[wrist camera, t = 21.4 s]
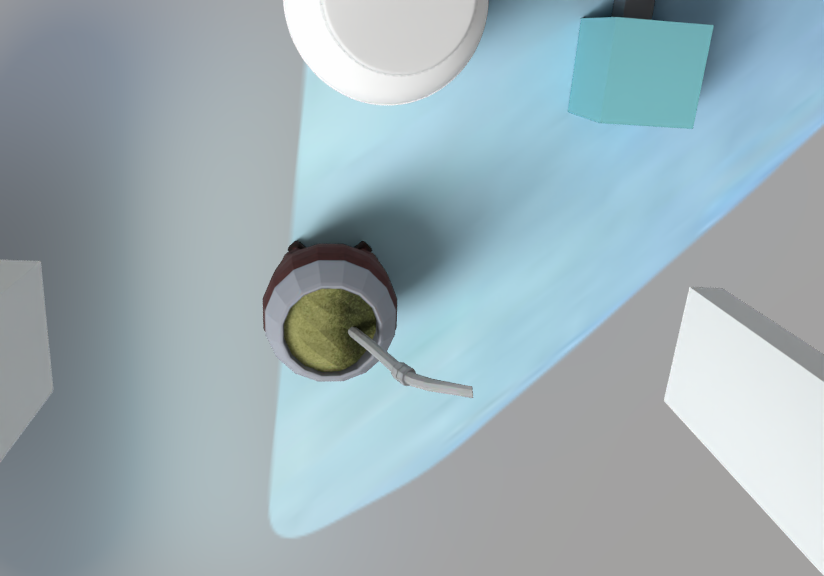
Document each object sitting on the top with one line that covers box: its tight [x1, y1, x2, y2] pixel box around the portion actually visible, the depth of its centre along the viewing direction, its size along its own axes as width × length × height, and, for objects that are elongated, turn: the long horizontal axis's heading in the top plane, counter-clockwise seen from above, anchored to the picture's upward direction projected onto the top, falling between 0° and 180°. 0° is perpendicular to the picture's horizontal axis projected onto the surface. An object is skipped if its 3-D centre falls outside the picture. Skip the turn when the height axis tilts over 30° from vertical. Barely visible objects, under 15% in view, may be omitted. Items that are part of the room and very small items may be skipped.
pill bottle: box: [283, 0, 489, 105], centre depth 30 cm, size 8×8×15 cm
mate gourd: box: [263, 240, 473, 398], centre depth 35 cm, size 8×8×15 cm
